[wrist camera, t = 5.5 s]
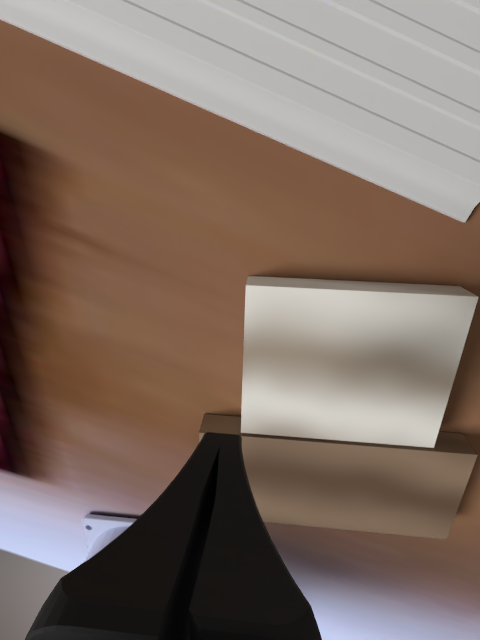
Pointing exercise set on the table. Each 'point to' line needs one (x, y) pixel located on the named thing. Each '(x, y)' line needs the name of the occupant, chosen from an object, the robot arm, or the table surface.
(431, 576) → the table surface
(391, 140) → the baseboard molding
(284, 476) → the walnut floor board
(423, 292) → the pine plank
